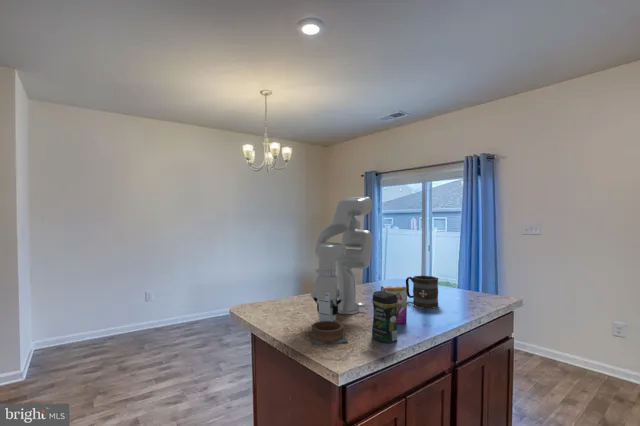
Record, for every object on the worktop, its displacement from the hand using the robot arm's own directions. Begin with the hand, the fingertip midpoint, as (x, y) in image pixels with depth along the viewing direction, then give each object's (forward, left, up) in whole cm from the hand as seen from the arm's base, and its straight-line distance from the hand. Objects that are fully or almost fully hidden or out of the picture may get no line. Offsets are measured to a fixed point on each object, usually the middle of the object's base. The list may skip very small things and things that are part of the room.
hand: (327, 313), depth 147 cm
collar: (+2, +14, -6) cm, 15 cm away
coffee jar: (-20, +19, -6) cm, 28 cm away
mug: (-58, -29, -6) cm, 65 cm away
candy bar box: (-31, 0, -6) cm, 31 cm away
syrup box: (0, 0, -5) cm, 5 cm away
